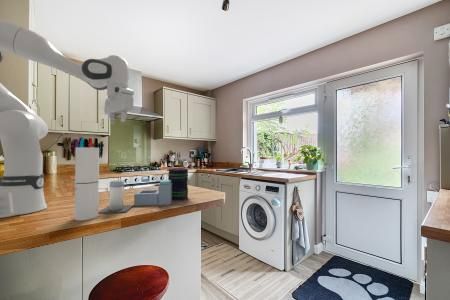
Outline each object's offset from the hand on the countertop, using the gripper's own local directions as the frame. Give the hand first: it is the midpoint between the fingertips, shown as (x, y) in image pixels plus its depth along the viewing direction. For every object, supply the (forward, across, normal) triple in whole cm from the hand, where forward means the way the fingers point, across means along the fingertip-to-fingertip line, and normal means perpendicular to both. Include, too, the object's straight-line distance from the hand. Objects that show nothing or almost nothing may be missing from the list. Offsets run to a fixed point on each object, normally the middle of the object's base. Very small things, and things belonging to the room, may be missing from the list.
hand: (117, 122), depth 95 cm
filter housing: (+37, +12, +12) cm, 41 cm away
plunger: (+34, +18, +13) cm, 41 cm away
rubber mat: (+37, +10, -5) cm, 39 cm away
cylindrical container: (+37, +12, -16) cm, 42 cm away
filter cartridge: (+37, +10, -5) cm, 38 cm away
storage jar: (+37, +14, +24) cm, 47 cm away
